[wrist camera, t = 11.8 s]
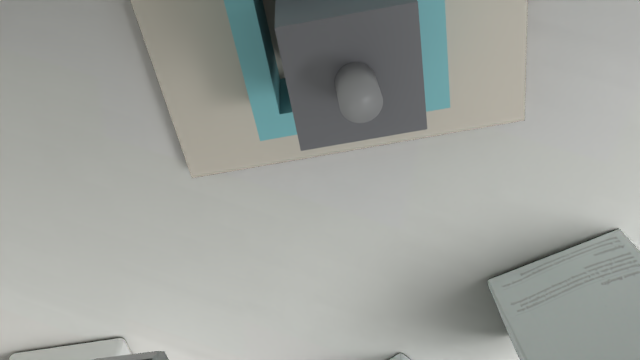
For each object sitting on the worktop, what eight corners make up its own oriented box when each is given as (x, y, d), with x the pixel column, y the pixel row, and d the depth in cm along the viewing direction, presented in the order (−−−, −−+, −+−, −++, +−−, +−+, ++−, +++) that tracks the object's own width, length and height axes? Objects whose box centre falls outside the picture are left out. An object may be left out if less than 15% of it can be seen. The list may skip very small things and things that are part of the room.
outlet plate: (523, -243, 20) (578, -254, 17) (517, 111, 28) (553, 158, 24) (85, -153, 21) (42, -145, 17) (194, 167, 29) (181, 221, 25)
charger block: (377, -57, 23) (429, 18, 15) (388, 41, 25) (438, 153, 17) (277, -37, 23) (273, 46, 15) (296, 58, 25) (302, 176, 17)
